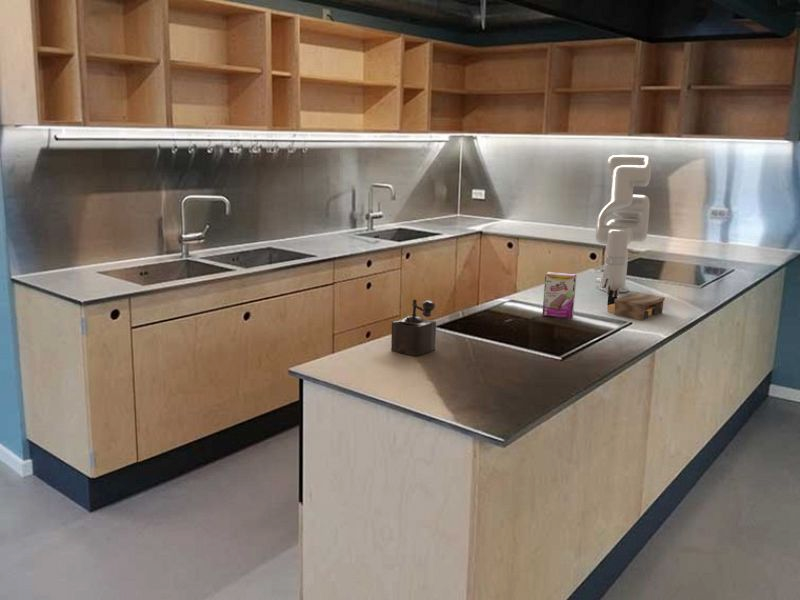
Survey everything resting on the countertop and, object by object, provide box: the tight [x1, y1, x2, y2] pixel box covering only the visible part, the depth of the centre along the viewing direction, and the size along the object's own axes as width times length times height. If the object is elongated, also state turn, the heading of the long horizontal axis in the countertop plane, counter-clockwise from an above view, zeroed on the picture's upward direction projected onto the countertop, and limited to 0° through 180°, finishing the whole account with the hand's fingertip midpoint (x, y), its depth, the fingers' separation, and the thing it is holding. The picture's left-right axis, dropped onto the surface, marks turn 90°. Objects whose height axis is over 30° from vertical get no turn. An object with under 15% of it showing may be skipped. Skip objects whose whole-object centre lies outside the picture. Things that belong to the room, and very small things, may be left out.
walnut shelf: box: [613, 292, 666, 321], centre depth 277 cm, size 12×18×6 cm, turn 135°
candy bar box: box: [542, 271, 577, 320], centre depth 271 cm, size 11×5×16 cm, turn 71°
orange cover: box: [607, 303, 656, 317], centre depth 280 cm, size 14×12×3 cm
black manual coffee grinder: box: [390, 298, 437, 357], centre depth 224 cm, size 16×11×18 cm
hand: (611, 305), depth 286 cm, fingers closed
